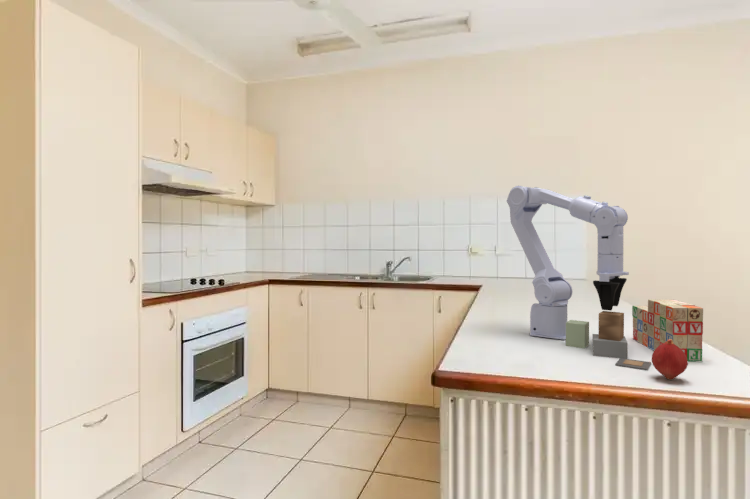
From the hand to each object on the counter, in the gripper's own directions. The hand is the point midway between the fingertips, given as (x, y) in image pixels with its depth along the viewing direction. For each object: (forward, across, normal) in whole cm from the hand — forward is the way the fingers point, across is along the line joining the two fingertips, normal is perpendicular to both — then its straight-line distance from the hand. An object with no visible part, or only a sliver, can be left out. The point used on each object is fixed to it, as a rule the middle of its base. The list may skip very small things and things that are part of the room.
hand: (610, 307), depth 110 cm
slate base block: (+10, -7, -1) cm, 12 cm away
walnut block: (+6, -7, -2) cm, 9 cm away
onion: (+10, -21, -14) cm, 27 cm away
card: (+10, -14, -7) cm, 18 cm away
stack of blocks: (+10, +5, -11) cm, 16 cm away
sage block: (+10, -3, +7) cm, 13 cm away
